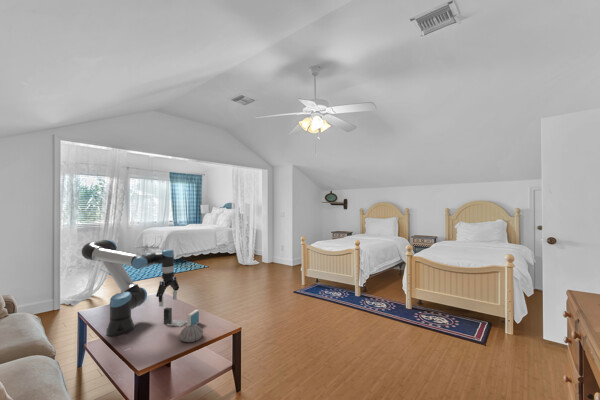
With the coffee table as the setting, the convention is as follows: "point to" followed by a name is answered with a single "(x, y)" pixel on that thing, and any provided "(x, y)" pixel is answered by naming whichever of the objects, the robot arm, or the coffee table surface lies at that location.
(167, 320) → the grey l-shaped block
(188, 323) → the tile
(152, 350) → the coffee table surface
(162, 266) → the robot arm
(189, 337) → the sea urchin shell
